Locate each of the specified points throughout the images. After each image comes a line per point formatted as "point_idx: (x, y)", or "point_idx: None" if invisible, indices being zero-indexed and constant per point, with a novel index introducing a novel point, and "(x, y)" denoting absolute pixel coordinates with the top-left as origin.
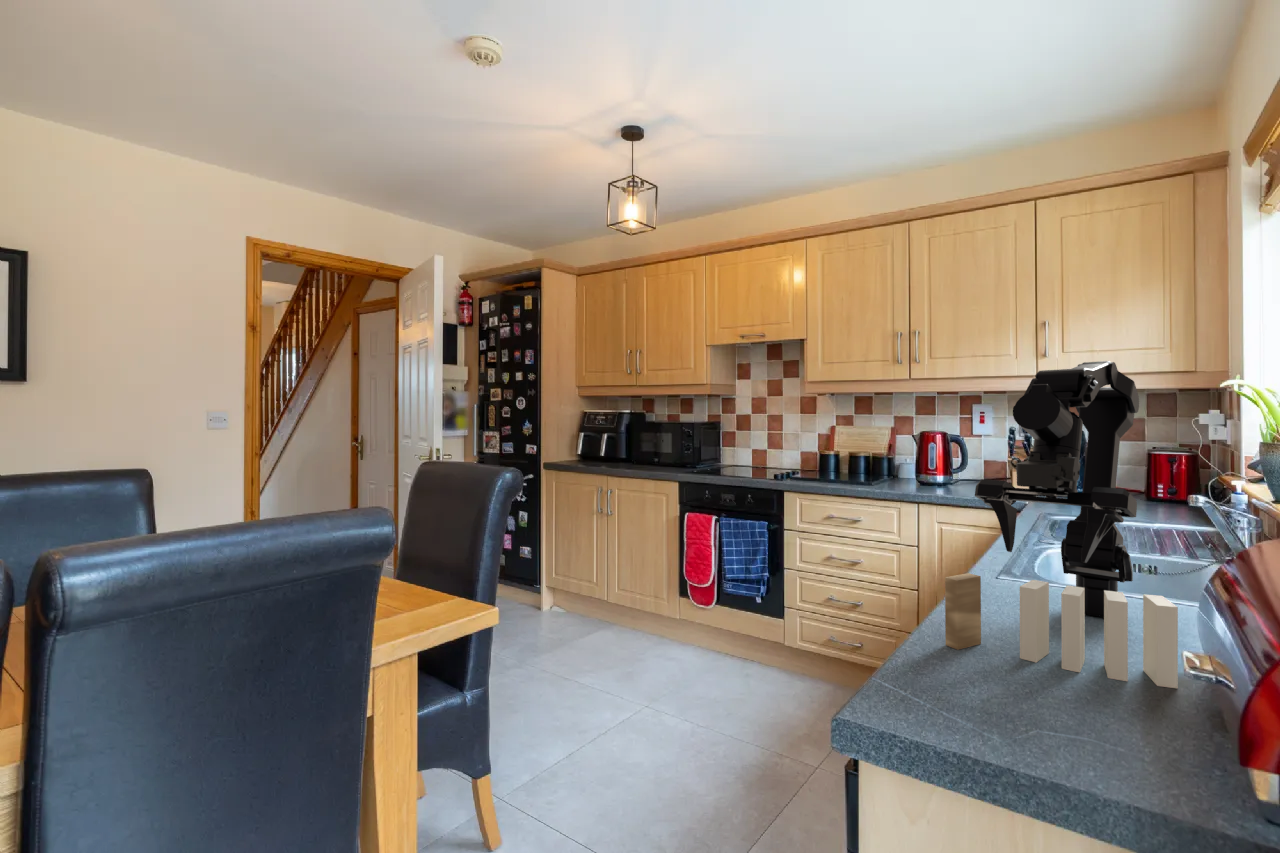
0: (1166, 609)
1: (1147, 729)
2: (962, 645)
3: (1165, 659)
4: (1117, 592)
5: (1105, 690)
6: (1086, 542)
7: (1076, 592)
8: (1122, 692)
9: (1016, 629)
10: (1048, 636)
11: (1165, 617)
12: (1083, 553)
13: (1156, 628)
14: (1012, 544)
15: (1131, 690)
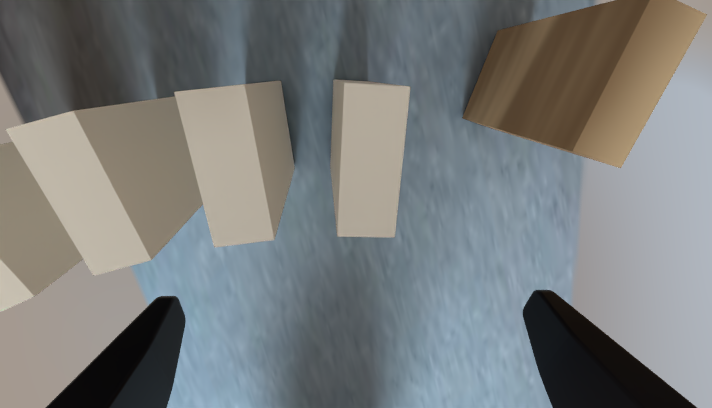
0: None
1: None
2: (493, 49)
3: None
4: (104, 260)
5: (173, 14)
6: (87, 398)
7: (207, 149)
8: (144, 30)
9: (423, 277)
10: (331, 173)
11: None
12: (145, 327)
13: (3, 149)
14: (542, 348)
15: (136, 60)
